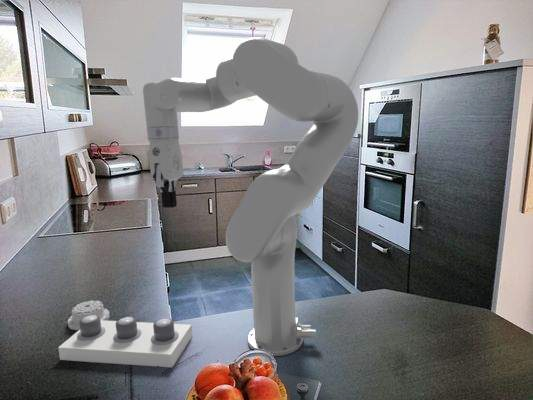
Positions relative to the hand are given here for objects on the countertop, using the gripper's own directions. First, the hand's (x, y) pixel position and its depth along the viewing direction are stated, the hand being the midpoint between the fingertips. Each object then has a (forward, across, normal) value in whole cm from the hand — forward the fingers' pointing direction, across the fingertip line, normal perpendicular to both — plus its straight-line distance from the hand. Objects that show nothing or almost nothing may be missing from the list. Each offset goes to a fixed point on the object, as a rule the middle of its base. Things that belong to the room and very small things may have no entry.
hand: (169, 206), depth 98 cm
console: (+29, -18, +5) cm, 34 cm away
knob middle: (+26, -18, +5) cm, 32 cm away
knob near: (+26, -18, -4) cm, 31 cm away
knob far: (+26, -18, +14) cm, 34 cm away
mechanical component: (+30, -7, +22) cm, 38 cm away
